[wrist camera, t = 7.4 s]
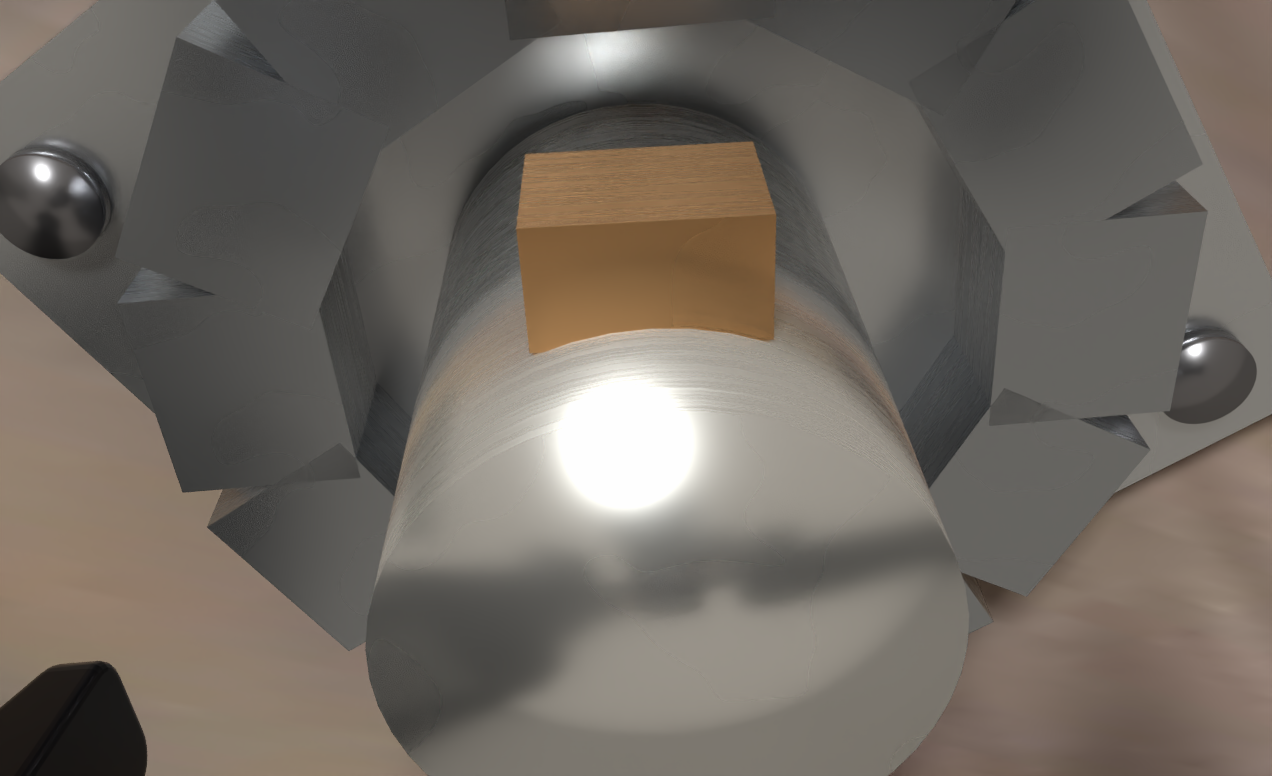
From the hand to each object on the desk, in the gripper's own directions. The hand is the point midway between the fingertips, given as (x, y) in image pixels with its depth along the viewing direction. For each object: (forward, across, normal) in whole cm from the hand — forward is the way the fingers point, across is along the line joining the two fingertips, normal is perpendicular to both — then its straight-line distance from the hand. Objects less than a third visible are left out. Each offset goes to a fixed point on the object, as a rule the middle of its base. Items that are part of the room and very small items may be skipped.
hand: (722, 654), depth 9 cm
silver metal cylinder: (+6, 0, 0) cm, 6 cm away
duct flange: (+7, 0, 0) cm, 7 cm away
